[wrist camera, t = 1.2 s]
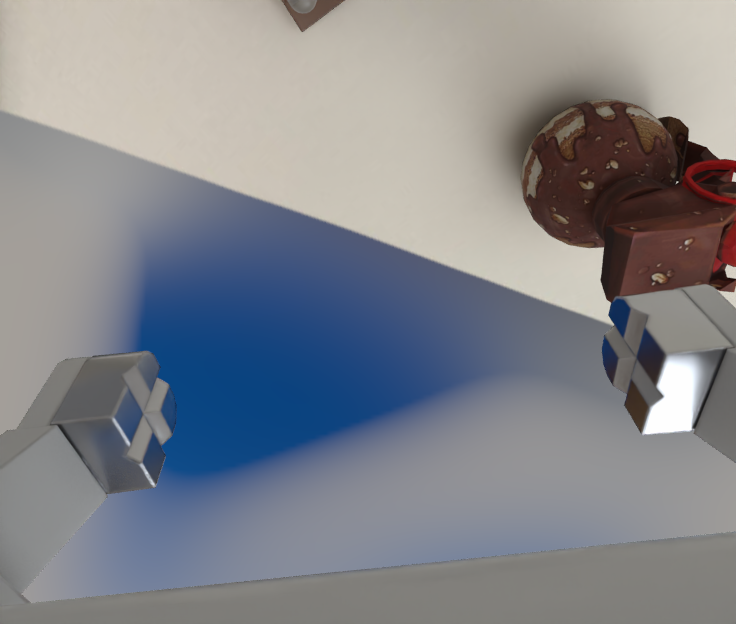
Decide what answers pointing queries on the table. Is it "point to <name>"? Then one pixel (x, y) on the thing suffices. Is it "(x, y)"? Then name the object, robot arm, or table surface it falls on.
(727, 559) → the robot arm
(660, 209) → the grenade
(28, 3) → the table surface
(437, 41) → the table surface
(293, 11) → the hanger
